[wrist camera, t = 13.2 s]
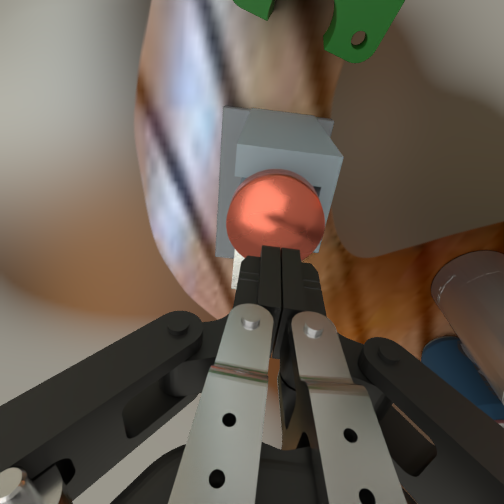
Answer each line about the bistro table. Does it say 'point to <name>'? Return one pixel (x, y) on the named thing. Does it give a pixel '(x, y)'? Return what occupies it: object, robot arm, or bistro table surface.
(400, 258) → the bistro table surface
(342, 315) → the bistro table surface
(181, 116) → the bistro table surface
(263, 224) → the disc
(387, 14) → the clamp
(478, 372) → the soda can
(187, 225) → the bistro table surface
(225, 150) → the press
